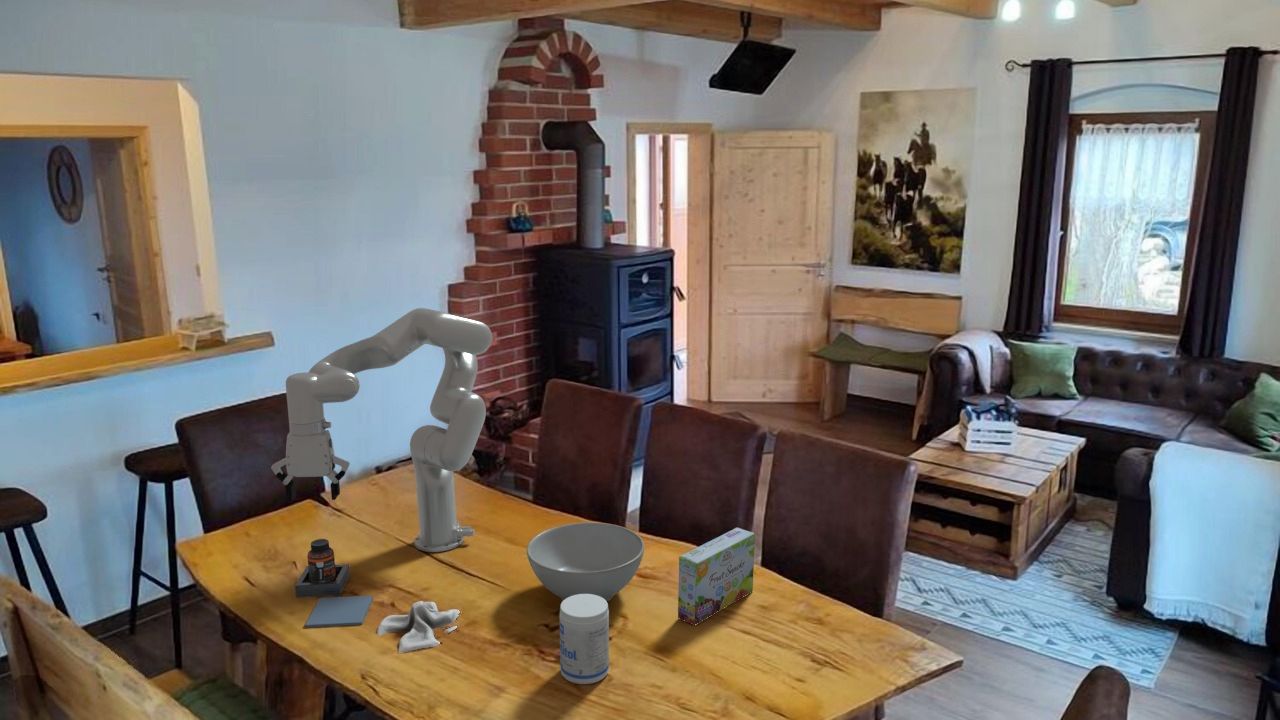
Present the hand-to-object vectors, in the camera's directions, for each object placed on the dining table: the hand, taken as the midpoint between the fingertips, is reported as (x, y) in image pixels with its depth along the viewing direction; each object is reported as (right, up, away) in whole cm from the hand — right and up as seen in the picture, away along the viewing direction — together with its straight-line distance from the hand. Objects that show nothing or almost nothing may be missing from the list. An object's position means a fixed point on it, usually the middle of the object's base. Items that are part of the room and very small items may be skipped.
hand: (313, 498), depth 209 cm
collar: (0, -22, +5) cm, 22 cm away
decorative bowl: (+63, -22, 0) cm, 67 cm away
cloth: (+29, -26, -12) cm, 41 cm away
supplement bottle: (0, -22, +5) cm, 23 cm away
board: (+8, -24, -7) cm, 27 cm away
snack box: (+93, -23, -5) cm, 96 cm away
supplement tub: (+64, -30, -31) cm, 77 cm away
